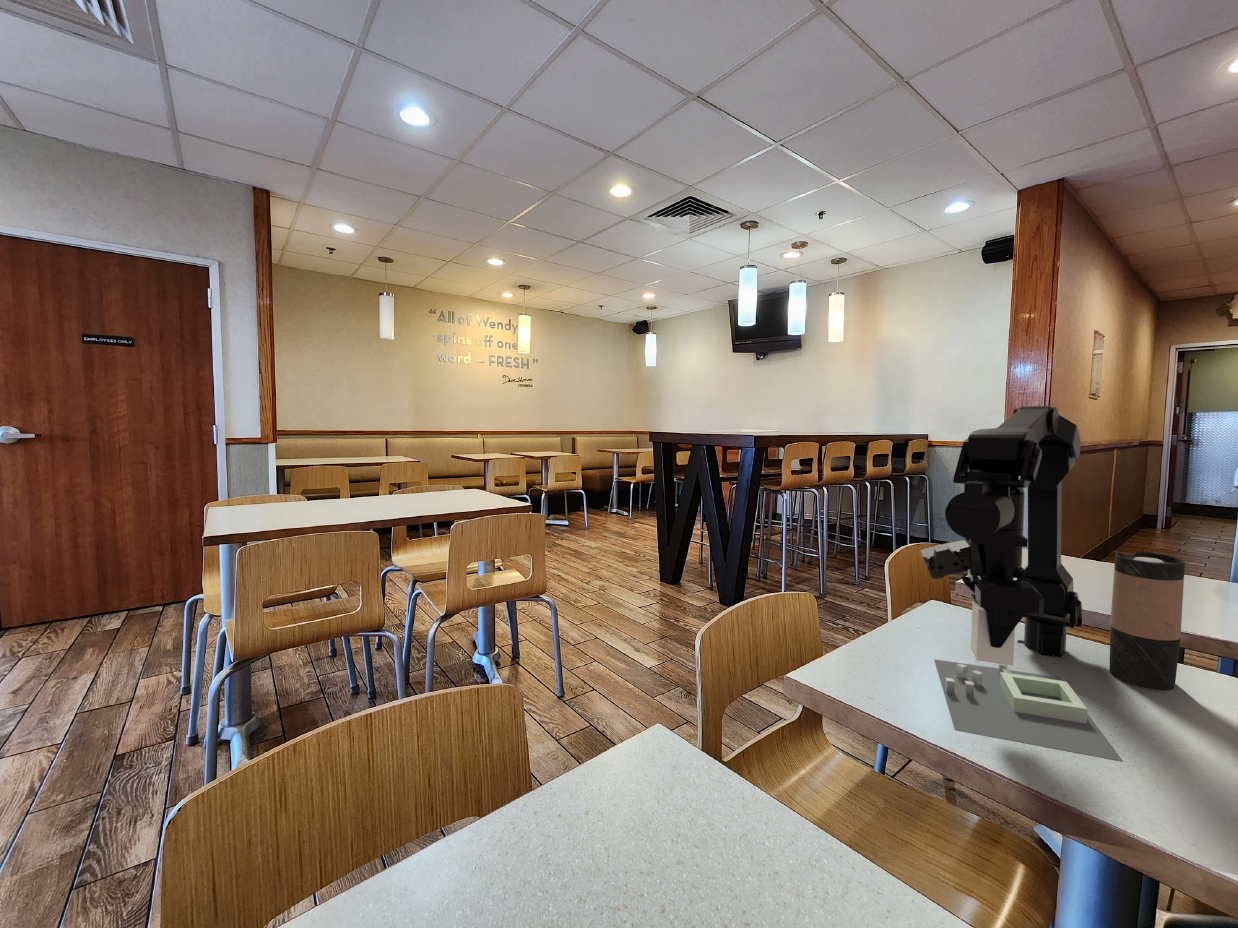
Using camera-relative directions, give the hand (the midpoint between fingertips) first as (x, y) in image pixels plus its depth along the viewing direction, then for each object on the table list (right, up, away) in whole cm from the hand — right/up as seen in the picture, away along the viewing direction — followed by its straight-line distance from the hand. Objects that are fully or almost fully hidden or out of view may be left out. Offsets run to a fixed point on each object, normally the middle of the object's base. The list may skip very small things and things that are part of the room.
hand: (991, 640), depth 72 cm
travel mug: (+30, -10, +10) cm, 33 cm away
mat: (+6, -11, +5) cm, 14 cm away
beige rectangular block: (0, -2, 0) cm, 2 cm away
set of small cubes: (+4, -10, +10) cm, 15 cm away
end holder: (+10, -10, +4) cm, 15 cm away
